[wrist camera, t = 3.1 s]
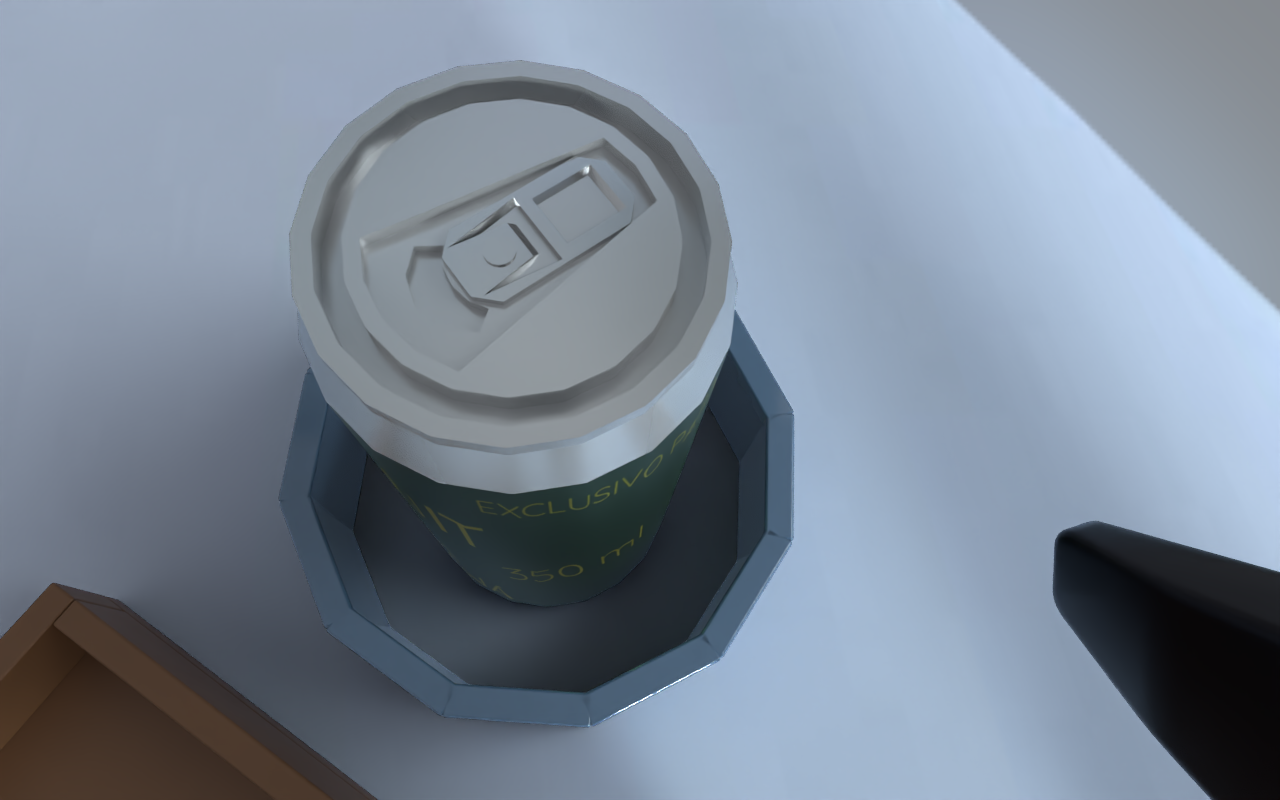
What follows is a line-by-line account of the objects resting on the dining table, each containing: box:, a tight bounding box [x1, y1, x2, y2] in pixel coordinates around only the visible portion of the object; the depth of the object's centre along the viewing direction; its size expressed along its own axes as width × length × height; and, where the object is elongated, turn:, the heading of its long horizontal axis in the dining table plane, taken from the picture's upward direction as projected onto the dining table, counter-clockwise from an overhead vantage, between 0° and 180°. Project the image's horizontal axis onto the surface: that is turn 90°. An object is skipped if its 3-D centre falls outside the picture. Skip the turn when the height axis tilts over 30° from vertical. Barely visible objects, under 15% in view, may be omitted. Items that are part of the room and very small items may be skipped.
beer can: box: [289, 60, 738, 607], centre depth 15 cm, size 5×5×12 cm
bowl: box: [279, 310, 794, 727], centre depth 19 cm, size 10×10×4 cm
